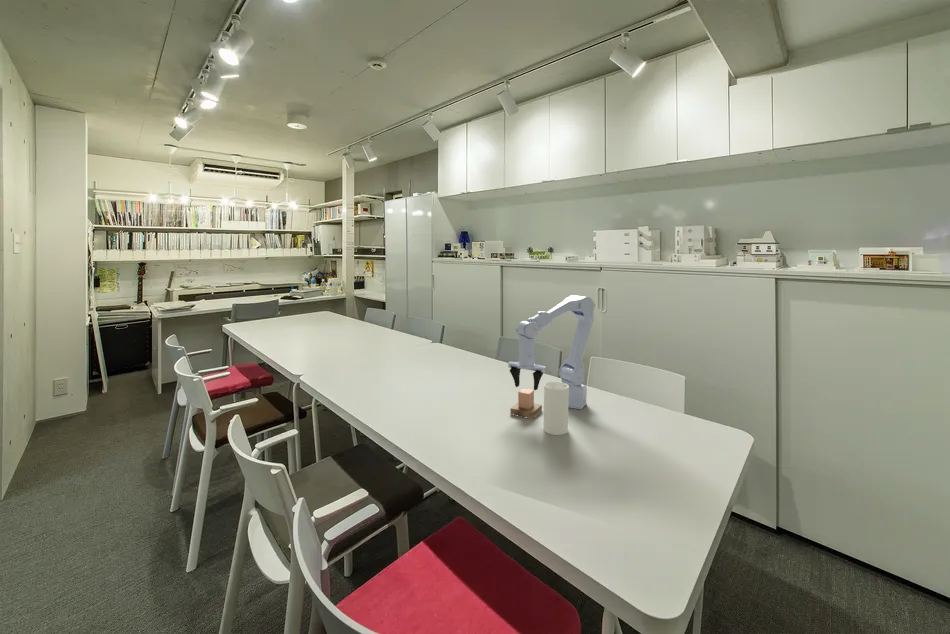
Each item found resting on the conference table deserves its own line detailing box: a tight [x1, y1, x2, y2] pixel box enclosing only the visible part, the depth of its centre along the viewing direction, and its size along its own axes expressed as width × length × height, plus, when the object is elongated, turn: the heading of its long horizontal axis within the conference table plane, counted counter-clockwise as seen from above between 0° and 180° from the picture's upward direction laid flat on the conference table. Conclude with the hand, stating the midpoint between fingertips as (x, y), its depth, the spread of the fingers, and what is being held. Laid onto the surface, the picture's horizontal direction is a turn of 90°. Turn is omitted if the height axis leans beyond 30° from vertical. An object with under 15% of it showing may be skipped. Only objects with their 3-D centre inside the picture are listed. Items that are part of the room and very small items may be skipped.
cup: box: [543, 381, 569, 436], centre depth 139 cm, size 8×8×16 cm
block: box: [517, 388, 535, 409], centre depth 154 cm, size 4×4×6 cm
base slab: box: [509, 402, 543, 420], centre depth 155 cm, size 9×9×3 cm
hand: (526, 387), depth 154 cm, fingers open, 7 cm apart
